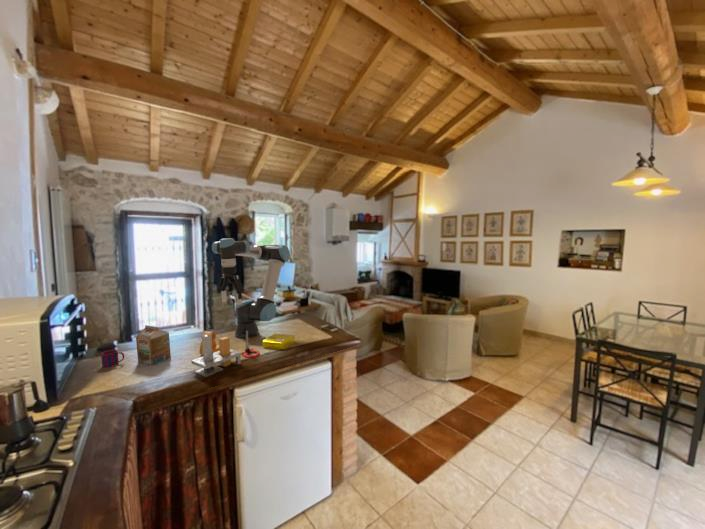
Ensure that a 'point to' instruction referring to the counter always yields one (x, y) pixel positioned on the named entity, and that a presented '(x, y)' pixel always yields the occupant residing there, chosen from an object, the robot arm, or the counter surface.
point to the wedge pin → (224, 349)
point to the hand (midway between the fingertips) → (231, 303)
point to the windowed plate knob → (212, 358)
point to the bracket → (214, 345)
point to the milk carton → (152, 346)
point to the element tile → (278, 341)
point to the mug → (110, 358)
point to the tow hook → (249, 349)
